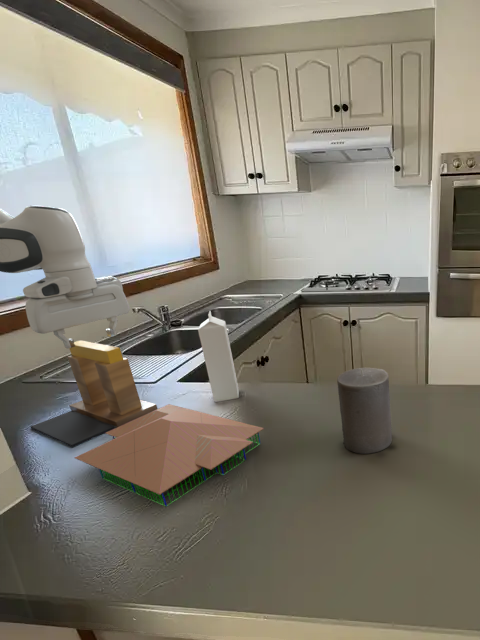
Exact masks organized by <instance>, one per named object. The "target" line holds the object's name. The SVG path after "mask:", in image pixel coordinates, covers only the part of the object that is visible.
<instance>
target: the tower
mask: <svg viewBox="0 0 480 640" xmlns="http://www.w3.org/2000/svg"><path fill="white" fill-rule="evenodd" d="M67 359H68V363H69V365H70V368H71V371H72V374H73V377H74V380H75V382H76V385H77V389H78V391H79V394H80V397H81V400H79V401H77V402H74V403H72V404H69V405H68V406H69V409H70V411H74V412H77V413H79V414H82V415H85V416H88V417H90V418H93V419H96V420H99V421H101V422H104V423H107V424H110V425H112V426H115V428H117V427H119V426H122V425H124V424H126V423H128V422H130V421H133V420H135V419H137V418H139V417H141V416H144V415H146V414H148V413H150V412H152V411H155V410H157V409H159V408H158V404H156V403H153V402H150V401H146V400H143V399H141V398H140V396H139V395H140V394H139V392H138V389H137V385H136V382H135V379H134V376H133V375H134V374H133V371H132V368H131V365H130V361H129V358H127V357H123V360H121V361H118V362H115V363H112V364H108V363H104V362H100V361H95V360H91V359H86V358H82V357H77V356H73V355H71V354H70V355H68V356H67Z"/></svg>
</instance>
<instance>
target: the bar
mask: <svg viewBox="0 0 480 640" xmlns="http://www.w3.org/2000/svg"><path fill="white" fill-rule="evenodd" d="M74 344H75V347H72V348H69V349H68V350H69V351H70V356H71V355H73V356H77V357H82V358H86V359H91V360H95V361H100V362H104V363H108V364H112V363H115V362H118V361H121V360H123V358H124V357H123V354H122V350H121V348H120V346H119V347H118V346H113V345H109V344H102V343H98V342H93V341H87V340H81V339H80V340H76V341H74Z"/></svg>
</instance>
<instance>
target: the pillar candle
mask: <svg viewBox="0 0 480 640" xmlns="http://www.w3.org/2000/svg"><path fill="white" fill-rule="evenodd" d="M389 376H390V375H389V373H388V372H387V371H386V370H385V369H383V368H376V367H358V368H352V369H349V370H346V371H343V372H341V373H340V374H339V375H338V376H337V379H336V381H337V391H338V401H339V412H340V419H341V431H342V438H343V441H342V444H343V445H344V448H345V449H347V450H348V451H350V452H352V453H355V454H363V455H364V454H374V453H377V452H382V451H383V450H385V449H388V447H389V446H390V445H391V443H392V440H393V432H392V431H393V428H392V412H391V411H392V410H391V398H390V397H391V395H390V378H389Z"/></svg>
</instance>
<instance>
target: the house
mask: <svg viewBox="0 0 480 640" xmlns="http://www.w3.org/2000/svg"><path fill="white" fill-rule="evenodd" d="M263 430H265V428H264V427H261V426H257V425H253V424H249V423H245V422H241V421H237V420H234V419H229V418H226V417H221V416H217V415H213V414H209V413H206V412H202V411H198V410H194V409H190V408H186V407H182V406H178V405H174V404H170V403H168V404H166V405H163V406H162V407H159V408H158V409H157V410H155V411H152V412H150V413H148V414H146V415H144V416H141V417H139V418H137V419H135V420H133V421H130V422H128V423H126V424H124V425H122V426H119V427H115V429H113V430H111V431H108V432H106V433H104V435H105V434H106V435H108V436H111V437H112V439H111V440H108V441H106V442H104V443H102V444H100V445H98V446H96V447H94V448H92V449H90V450H87V451H84V452H83V453H81V454H79V455H77V456H74V459H75V460H77V461H80V462H82V463H85V464H87V465H89V466H92V467H94V468H97V469H98V470H99V472H100V475H101V478H102V479H103V480H105V481H107V482H109V483H111V484H114V485H116V486H119V487H121V488H123V489H125V490H128V491H129V492H132V493H134V494H137V495H139V496H141V497H143V498H145V499H148V500H150V501H152V502H154V503H157V504H159V505H162V506H163V507H168V506H170V505H171V504H173V503H174V502H175V501H177V500H179V499H180V498H182V497H183V496H184V495H186V494H187V493H189V492H190V491H192V490H193V489H195V488H197V487H198V486H200V485H201V484H203V483H205V482H206V481H207V480H209V479H211V477H213V476H214V475H216V474H219V475H220V476H224V475H226V474H227V473H229V472H231V471H232V470H234V469H235V468H236V467H238V466H239V465H241V464H242V463H244V462H245V461H247V457H246V454H248V453H249V452H250V451H252V450H253V449H255V448H256V447H258V446H260V445H261V444H262V443H261V438H260V433H259V432H261V431H263ZM254 437H255V438H254ZM252 444H253V445H254V446H253V447H252ZM249 446H250V448H251V449H249ZM246 448H247V451H246ZM243 456H244V457H243ZM230 458H231V459H230ZM234 459H235V463H236V465H235V464H234ZM237 459H239V463H238V460H237ZM241 460H242V461H241ZM226 461H227V462H226ZM230 462H232V466H233V467H232V468H231V464H230ZM223 463H224V464H223ZM227 464H228V466H229V470H228V468H227ZM224 466H225V471H226V472H225V473H224V468H223V467H224ZM217 468H218V469H217ZM214 470H215V471H214ZM206 471H208V474H209V477H207V472H206ZM211 471H212V472H213V474H211ZM198 473H199V474H198ZM190 476H192V478H191V479H190ZM187 478H188V481H187V482H186V479H187ZM195 478H197V480H198V484H196V480H195ZM192 480H193V483H194V487H193V486H192V482H191V481H192ZM200 480H201V481H200ZM182 481H184V484H182ZM179 483H180V486H179V487H178V486H177V485H178V484H179ZM187 483H189V484H190V485H189V486H190V488H191V489H188V485H187ZM184 485H185V487H186V491H187V492H185V493H184V488H183V486H184ZM173 487H175V489H173ZM180 488H181V490H182V491H181V492H182V495H180V492H179V489H180ZM169 489H171V492H170V493H169ZM175 491H177V495H178V497H177V498H176V496H175V493H174V492H175ZM164 493H167V494H166V495H164ZM171 494H173V499H174V500H172V501H171V497H170V495H171ZM167 496H168V498H169V502H170V503H168V504H167V501H166V497H167Z"/></svg>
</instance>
